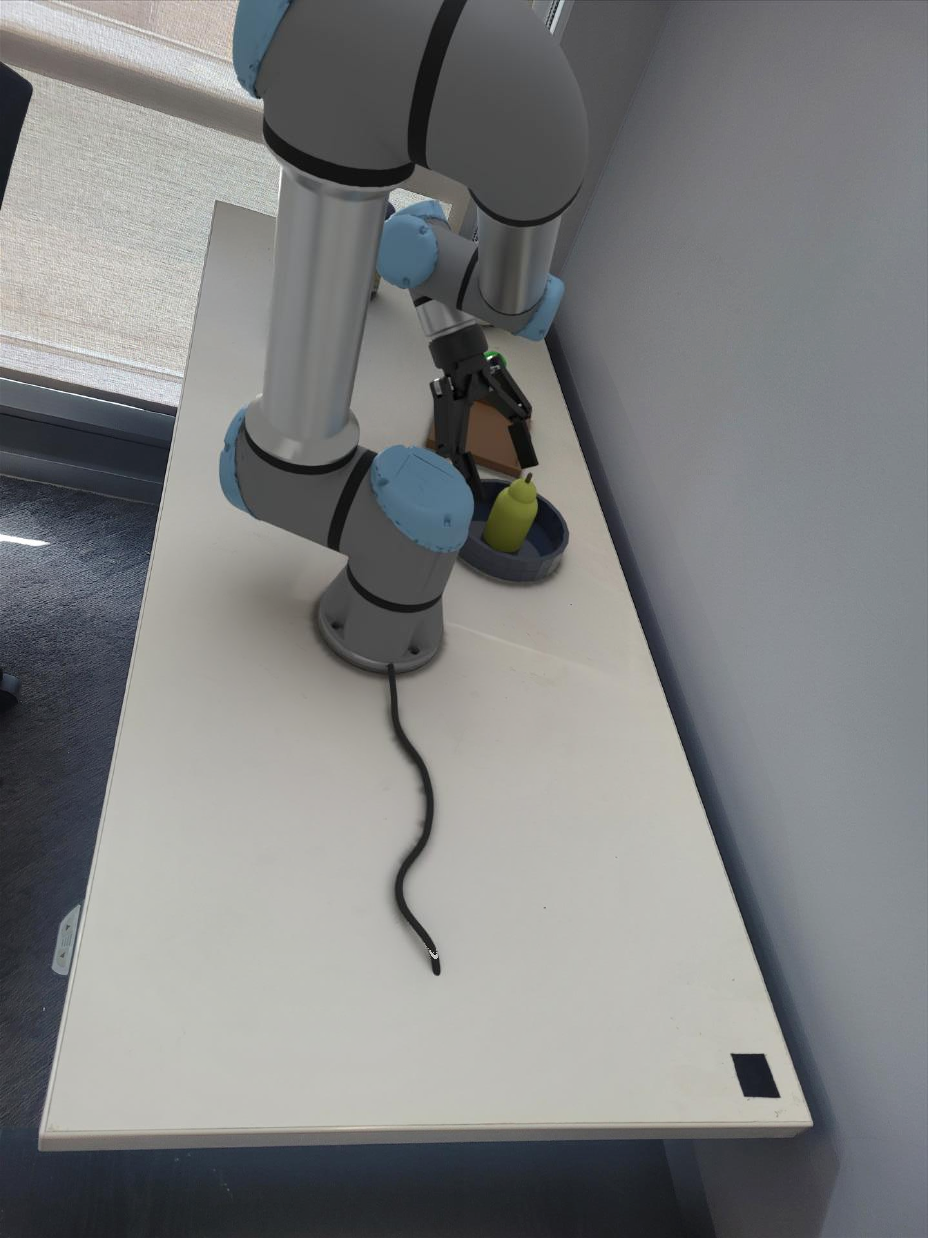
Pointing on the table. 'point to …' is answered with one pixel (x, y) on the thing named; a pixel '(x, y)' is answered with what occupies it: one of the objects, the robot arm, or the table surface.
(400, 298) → the table surface
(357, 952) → the table surface
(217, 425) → the table surface
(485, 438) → the tray
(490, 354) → the polyhedron
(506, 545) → the pear
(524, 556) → the bowl
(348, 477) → the robot arm
